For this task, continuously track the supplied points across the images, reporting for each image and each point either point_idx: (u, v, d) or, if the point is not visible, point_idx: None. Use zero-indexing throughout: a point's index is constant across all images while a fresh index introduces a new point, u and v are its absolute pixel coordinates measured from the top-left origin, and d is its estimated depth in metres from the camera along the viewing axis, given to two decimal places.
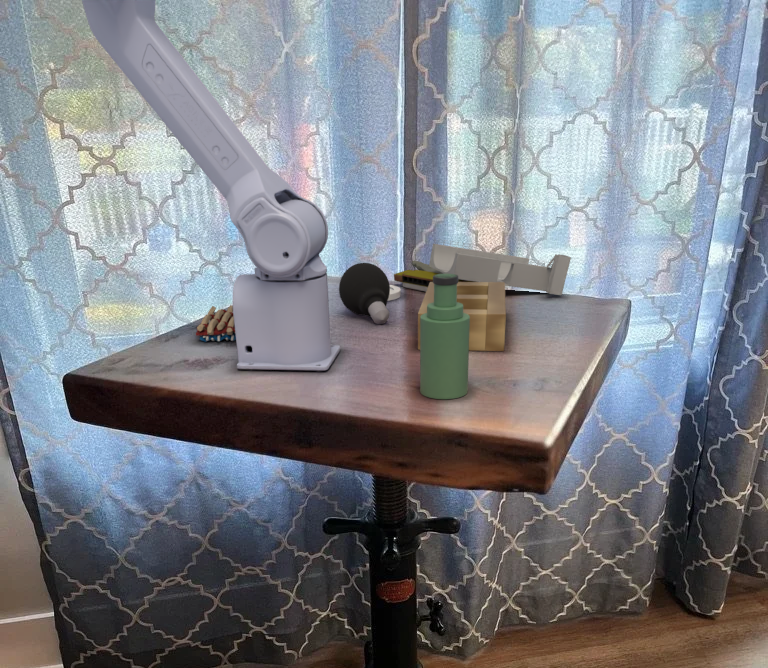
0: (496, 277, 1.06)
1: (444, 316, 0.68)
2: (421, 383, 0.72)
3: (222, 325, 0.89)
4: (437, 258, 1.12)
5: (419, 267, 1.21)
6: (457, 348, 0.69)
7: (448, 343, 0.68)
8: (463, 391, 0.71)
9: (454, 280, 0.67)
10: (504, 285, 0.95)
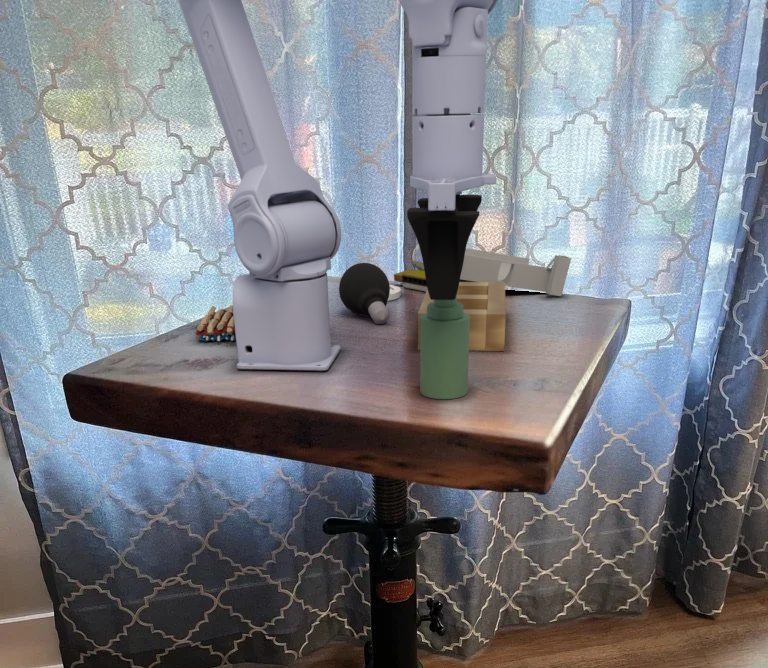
0: (496, 277, 1.06)
1: (444, 316, 0.68)
2: (421, 383, 0.72)
3: (222, 325, 0.89)
4: None
5: (419, 267, 1.21)
6: (457, 348, 0.69)
7: (448, 343, 0.68)
8: (463, 391, 0.71)
9: None
10: (504, 285, 0.95)
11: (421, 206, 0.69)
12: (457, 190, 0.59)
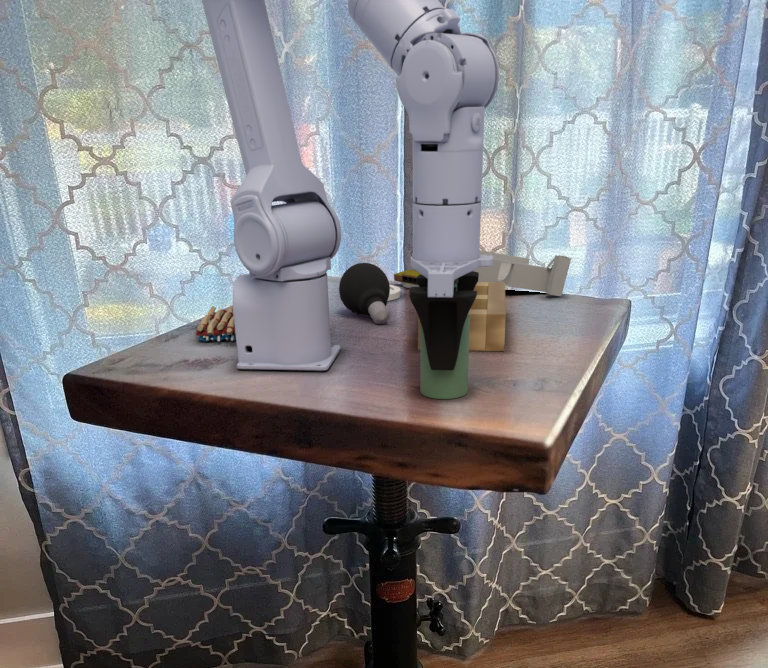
0: (496, 277, 1.06)
1: None
2: (421, 383, 0.72)
3: (222, 325, 0.89)
4: None
5: None
6: None
7: None
8: (463, 391, 0.71)
9: (454, 280, 0.67)
10: (504, 285, 0.95)
11: (420, 284, 0.71)
12: (455, 277, 0.62)
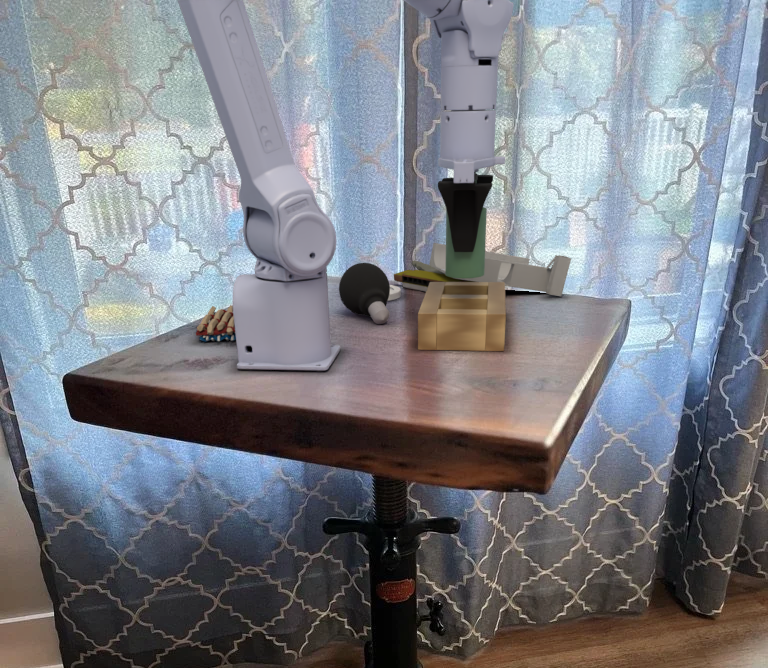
0: (496, 277, 1.06)
1: None
2: (446, 266, 0.87)
3: (222, 325, 0.89)
4: (438, 257, 1.12)
5: (419, 267, 1.21)
6: None
7: None
8: (481, 272, 0.87)
9: (474, 176, 0.83)
10: (504, 285, 0.95)
11: None
12: (475, 167, 0.78)
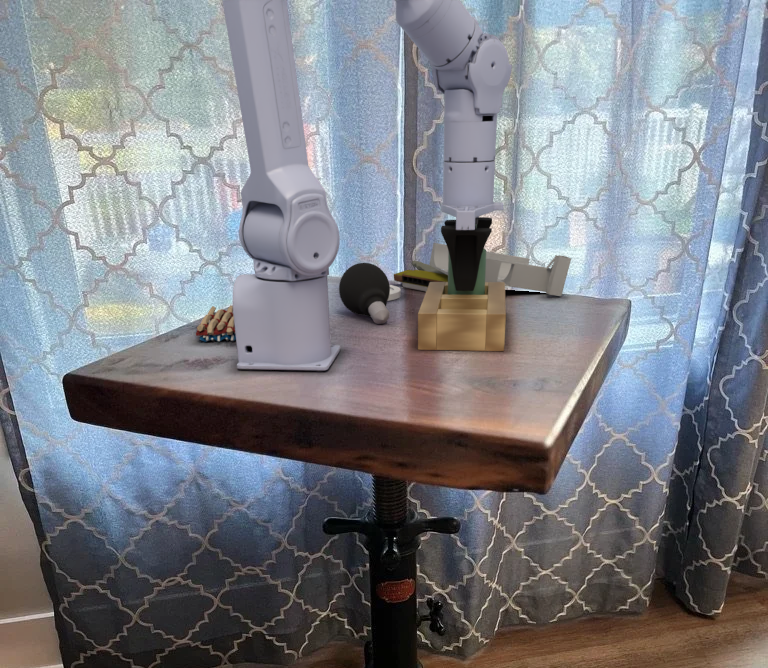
0: (496, 277, 1.06)
1: None
2: None
3: (222, 325, 0.89)
4: (438, 257, 1.12)
5: (419, 267, 1.21)
6: None
7: None
8: None
9: (475, 221, 0.89)
10: (504, 285, 0.95)
11: (447, 226, 0.92)
12: (476, 215, 0.84)
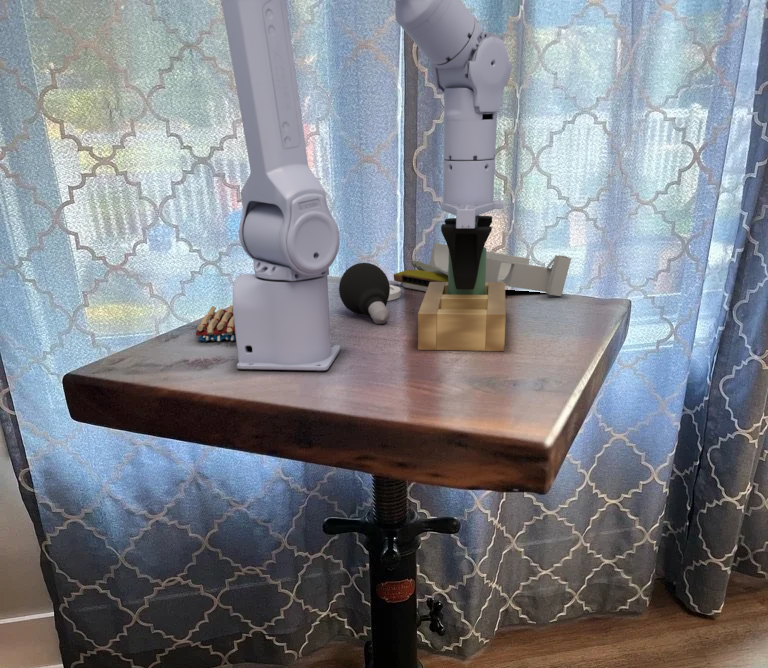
0: (496, 277, 1.06)
1: None
2: None
3: (222, 325, 0.89)
4: (438, 257, 1.12)
5: (419, 267, 1.21)
6: None
7: None
8: None
9: (475, 219, 0.89)
10: (504, 285, 0.95)
11: (447, 224, 0.92)
12: (476, 214, 0.84)
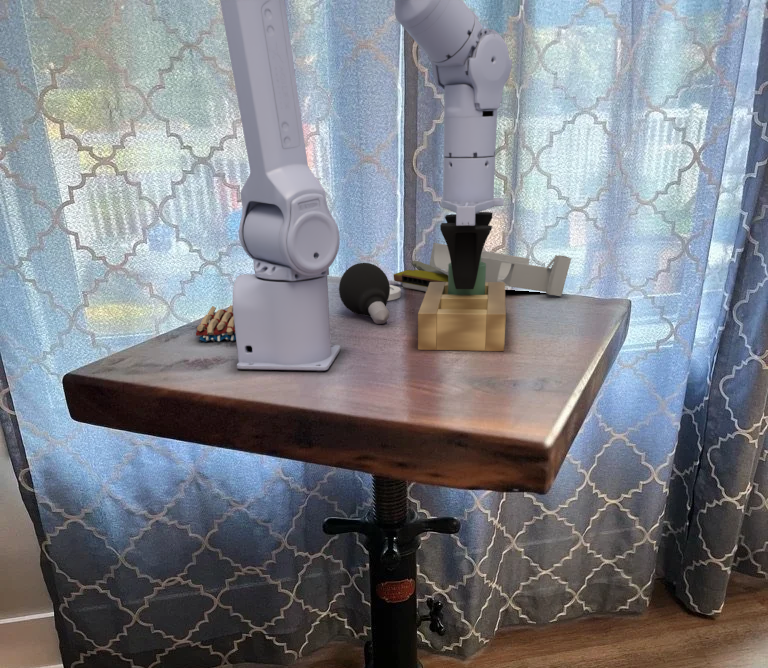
0: (496, 277, 1.06)
1: None
2: None
3: (222, 325, 0.89)
4: (438, 257, 1.12)
5: (419, 267, 1.21)
6: (476, 287, 0.91)
7: None
8: None
9: None
10: (504, 285, 0.95)
11: (448, 221, 0.93)
12: (476, 211, 0.83)
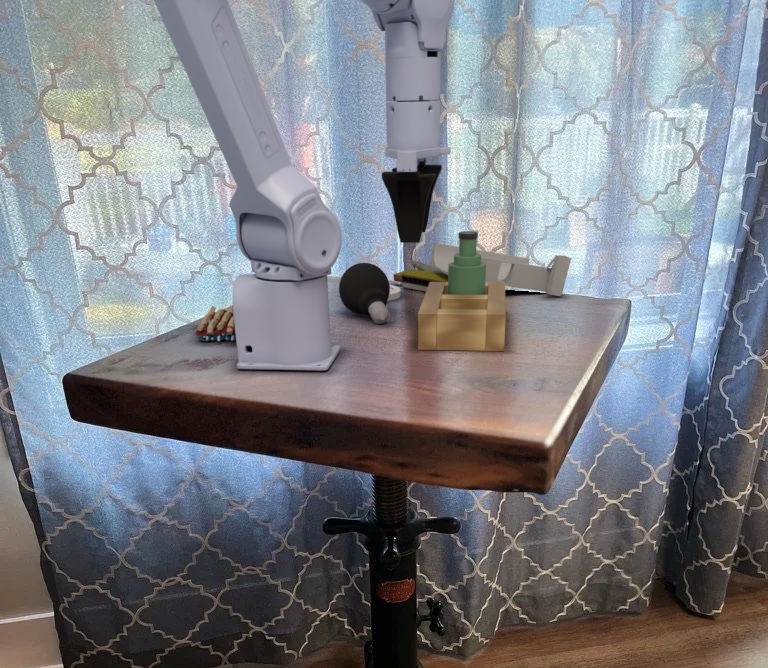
0: (496, 277, 1.06)
1: (467, 263, 0.90)
2: None
3: (222, 325, 0.89)
4: (438, 257, 1.12)
5: (419, 267, 1.21)
6: (476, 287, 0.91)
7: (470, 283, 0.91)
8: None
9: (474, 235, 0.90)
10: (504, 285, 0.95)
11: None
12: (418, 157, 0.79)
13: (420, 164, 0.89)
